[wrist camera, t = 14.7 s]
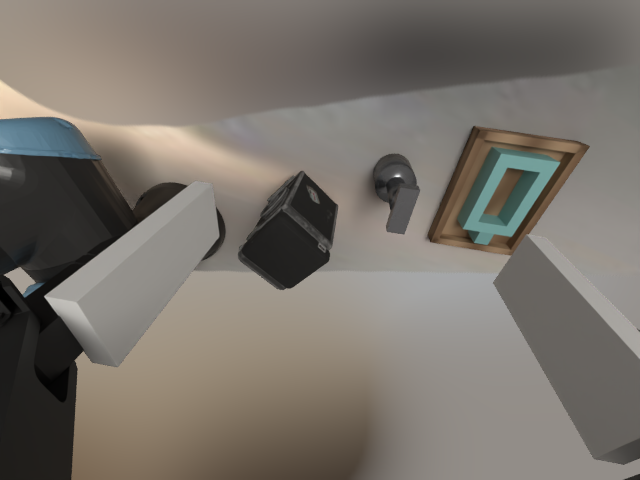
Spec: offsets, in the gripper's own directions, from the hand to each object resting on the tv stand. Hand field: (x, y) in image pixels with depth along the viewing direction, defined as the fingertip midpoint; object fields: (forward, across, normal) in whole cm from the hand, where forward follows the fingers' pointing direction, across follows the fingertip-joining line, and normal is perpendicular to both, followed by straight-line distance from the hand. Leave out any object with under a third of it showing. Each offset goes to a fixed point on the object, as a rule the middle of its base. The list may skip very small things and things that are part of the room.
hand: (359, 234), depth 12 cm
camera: (+29, -7, -15) cm, 33 cm away
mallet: (+29, +6, -7) cm, 30 cm away
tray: (+29, +21, -8) cm, 36 cm away
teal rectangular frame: (+28, +21, -8) cm, 36 cm away
